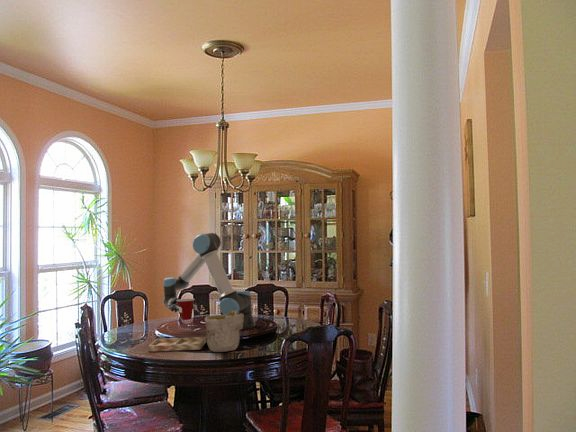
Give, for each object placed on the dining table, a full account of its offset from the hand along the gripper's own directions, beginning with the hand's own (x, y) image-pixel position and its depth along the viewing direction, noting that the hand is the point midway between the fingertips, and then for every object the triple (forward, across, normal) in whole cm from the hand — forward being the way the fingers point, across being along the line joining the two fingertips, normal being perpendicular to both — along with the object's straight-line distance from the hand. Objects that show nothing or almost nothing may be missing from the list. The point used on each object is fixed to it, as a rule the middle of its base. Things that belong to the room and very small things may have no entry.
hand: (188, 309), depth 291 cm
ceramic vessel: (+32, -6, -18) cm, 37 cm away
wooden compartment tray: (+10, +11, -18) cm, 24 cm away
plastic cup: (-5, 0, -7) cm, 8 cm away
